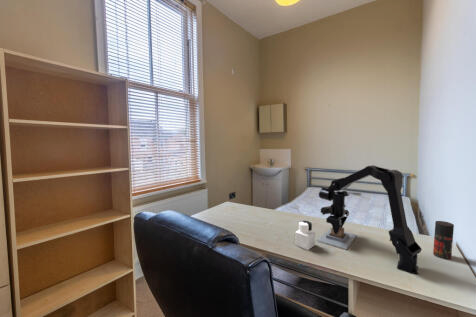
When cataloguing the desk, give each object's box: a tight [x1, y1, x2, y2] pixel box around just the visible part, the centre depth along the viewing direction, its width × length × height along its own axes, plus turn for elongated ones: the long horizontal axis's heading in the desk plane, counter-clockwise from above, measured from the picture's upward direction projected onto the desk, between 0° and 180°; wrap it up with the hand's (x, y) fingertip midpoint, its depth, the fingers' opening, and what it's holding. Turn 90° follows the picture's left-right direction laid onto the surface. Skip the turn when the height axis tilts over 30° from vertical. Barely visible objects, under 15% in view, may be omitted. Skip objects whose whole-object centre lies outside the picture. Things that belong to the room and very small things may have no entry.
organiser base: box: [316, 227, 358, 250], centre depth 116 cm, size 20×14×2 cm
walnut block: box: [330, 227, 345, 239], centre depth 116 cm, size 5×5×5 cm
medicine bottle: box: [294, 220, 316, 251], centre depth 109 cm, size 7×7×12 cm
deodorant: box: [432, 220, 455, 261], centre depth 97 cm, size 6×6×15 cm
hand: (337, 231), depth 116 cm, fingers open, 6 cm apart
